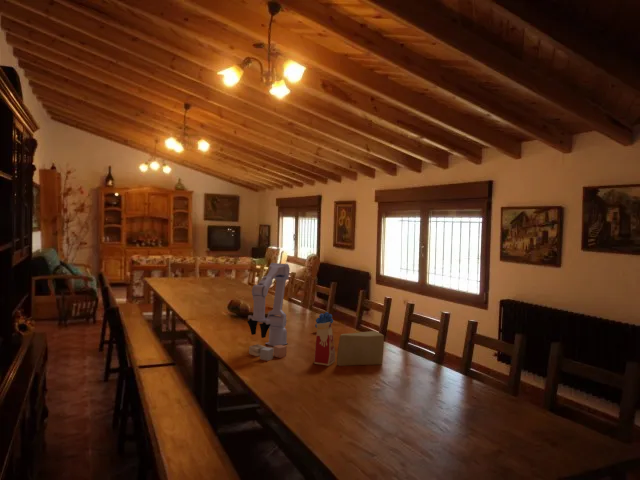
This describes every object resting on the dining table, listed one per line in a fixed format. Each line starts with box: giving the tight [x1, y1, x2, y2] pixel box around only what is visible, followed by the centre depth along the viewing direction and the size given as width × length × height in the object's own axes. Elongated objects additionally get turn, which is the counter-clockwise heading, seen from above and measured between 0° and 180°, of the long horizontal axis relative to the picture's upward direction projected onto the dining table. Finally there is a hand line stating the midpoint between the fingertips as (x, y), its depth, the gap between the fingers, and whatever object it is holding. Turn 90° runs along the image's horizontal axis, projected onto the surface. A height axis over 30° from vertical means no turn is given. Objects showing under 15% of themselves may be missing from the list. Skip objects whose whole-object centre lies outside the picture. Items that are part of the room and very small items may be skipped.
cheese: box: [336, 330, 385, 367], centre depth 233 cm, size 22×10×15 cm, turn 111°
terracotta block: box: [273, 345, 287, 359], centre depth 241 cm, size 4×4×5 cm
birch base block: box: [248, 343, 267, 357], centre depth 243 cm, size 6×6×4 cm
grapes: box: [314, 311, 334, 329], centre depth 296 cm, size 12×7×12 cm, turn 110°
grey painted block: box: [259, 346, 274, 362], centre depth 236 cm, size 4×4×5 cm
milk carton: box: [313, 322, 336, 367], centre depth 234 cm, size 9×9×20 cm
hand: (258, 335), depth 241 cm, fingers open, 7 cm apart
